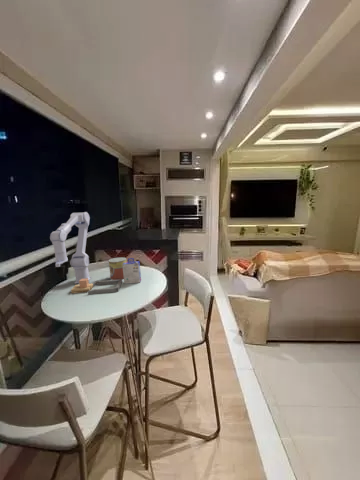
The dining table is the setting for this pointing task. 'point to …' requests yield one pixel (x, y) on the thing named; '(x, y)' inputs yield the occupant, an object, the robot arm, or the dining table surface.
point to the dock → (106, 288)
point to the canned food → (116, 268)
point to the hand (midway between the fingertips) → (64, 275)
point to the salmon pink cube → (84, 283)
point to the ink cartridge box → (131, 271)
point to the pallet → (81, 289)
